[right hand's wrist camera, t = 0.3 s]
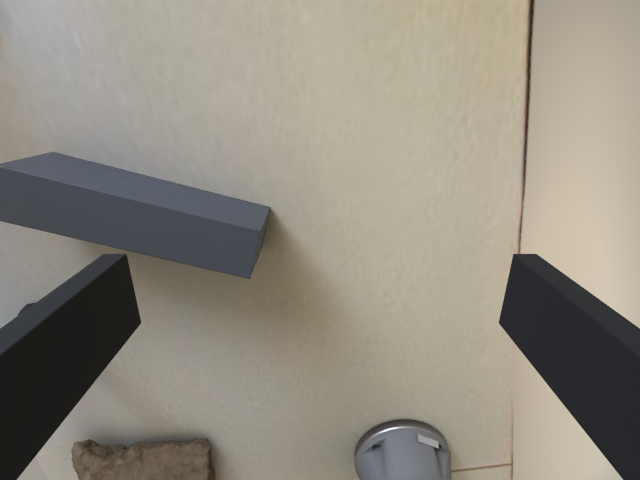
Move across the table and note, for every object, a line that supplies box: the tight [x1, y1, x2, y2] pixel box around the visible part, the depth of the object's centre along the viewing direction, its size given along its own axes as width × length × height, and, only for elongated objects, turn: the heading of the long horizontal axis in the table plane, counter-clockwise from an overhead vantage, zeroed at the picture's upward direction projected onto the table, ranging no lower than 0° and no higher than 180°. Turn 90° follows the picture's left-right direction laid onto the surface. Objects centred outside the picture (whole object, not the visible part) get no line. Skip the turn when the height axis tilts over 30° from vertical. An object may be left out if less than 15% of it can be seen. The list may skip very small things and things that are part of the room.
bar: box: [0, 152, 270, 279], centre depth 40 cm, size 25×6×8 cm, turn 75°
